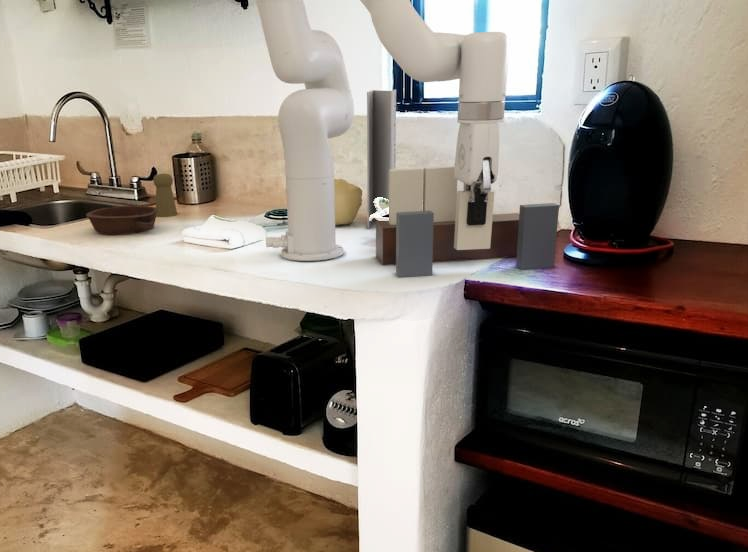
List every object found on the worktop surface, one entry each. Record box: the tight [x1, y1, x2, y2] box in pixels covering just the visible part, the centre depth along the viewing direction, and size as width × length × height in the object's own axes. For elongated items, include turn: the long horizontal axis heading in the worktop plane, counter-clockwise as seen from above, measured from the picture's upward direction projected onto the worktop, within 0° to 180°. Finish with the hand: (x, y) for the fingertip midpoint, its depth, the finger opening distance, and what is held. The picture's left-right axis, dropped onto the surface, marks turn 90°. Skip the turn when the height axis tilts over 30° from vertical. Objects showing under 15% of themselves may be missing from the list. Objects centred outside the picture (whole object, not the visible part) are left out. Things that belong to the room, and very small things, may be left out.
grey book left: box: [395, 210, 434, 278], centre depth 136 cm, size 6×3×11 cm, turn 94°
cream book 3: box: [454, 189, 495, 250], centre depth 135 cm, size 6×2×10 cm, turn 94°
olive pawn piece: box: [152, 173, 178, 218], centre depth 211 cm, size 6×6×11 cm
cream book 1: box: [389, 167, 423, 225], centre depth 144 cm, size 6×2×10 cm, turn 94°
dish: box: [85, 205, 158, 235], centre depth 192 cm, size 18×22×5 cm
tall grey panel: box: [366, 88, 397, 230], centre depth 180 cm, size 14×6×30 cm, turn 168°
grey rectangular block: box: [515, 202, 560, 270], centre depth 136 cm, size 6×3×11 cm, turn 94°
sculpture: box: [334, 178, 363, 226], centre depth 185 cm, size 12×12×11 cm
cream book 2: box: [422, 165, 458, 222], centre depth 145 cm, size 6×2×10 cm, turn 94°
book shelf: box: [375, 212, 519, 266], centre depth 148 cm, size 28×7×7 cm, turn 94°
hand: (473, 222), depth 135 cm, fingers closed on cream book 3, 2 cm apart
